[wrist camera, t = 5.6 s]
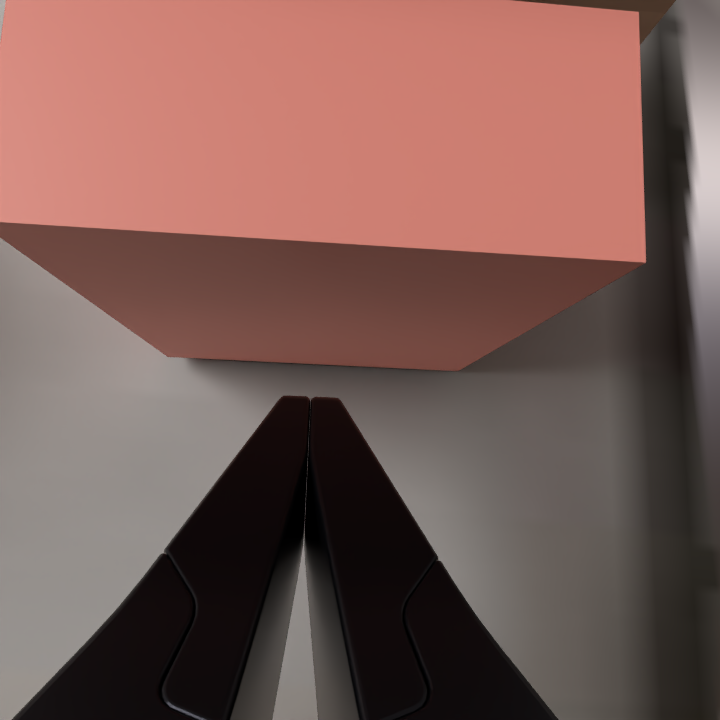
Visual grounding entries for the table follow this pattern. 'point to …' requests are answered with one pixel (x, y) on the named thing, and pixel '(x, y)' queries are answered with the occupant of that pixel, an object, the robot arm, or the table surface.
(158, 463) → the table surface
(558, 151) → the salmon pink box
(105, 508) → the table surface
